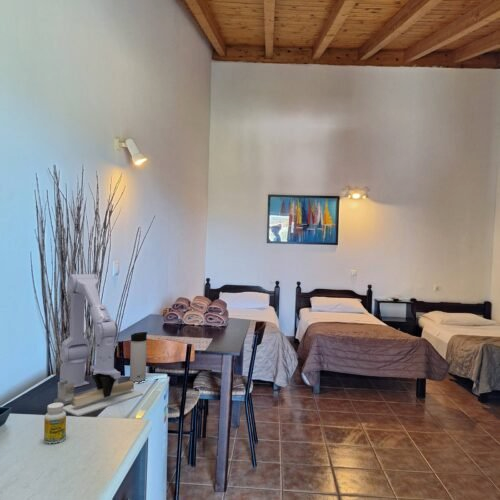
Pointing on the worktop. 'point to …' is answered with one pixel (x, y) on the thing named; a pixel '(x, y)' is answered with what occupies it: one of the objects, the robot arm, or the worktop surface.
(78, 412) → the mat
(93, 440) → the worktop surface
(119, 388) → the rail
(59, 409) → the supplement bottle
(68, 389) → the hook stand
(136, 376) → the travel mug
